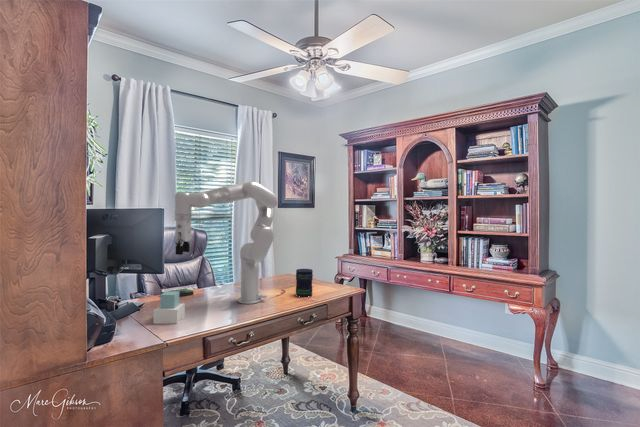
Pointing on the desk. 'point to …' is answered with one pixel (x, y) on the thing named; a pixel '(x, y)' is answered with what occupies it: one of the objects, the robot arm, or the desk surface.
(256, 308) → the desk surface
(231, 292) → the desk surface
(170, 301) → the teal cube
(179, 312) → the cream block
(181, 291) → the disk drive
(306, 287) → the storage jar
